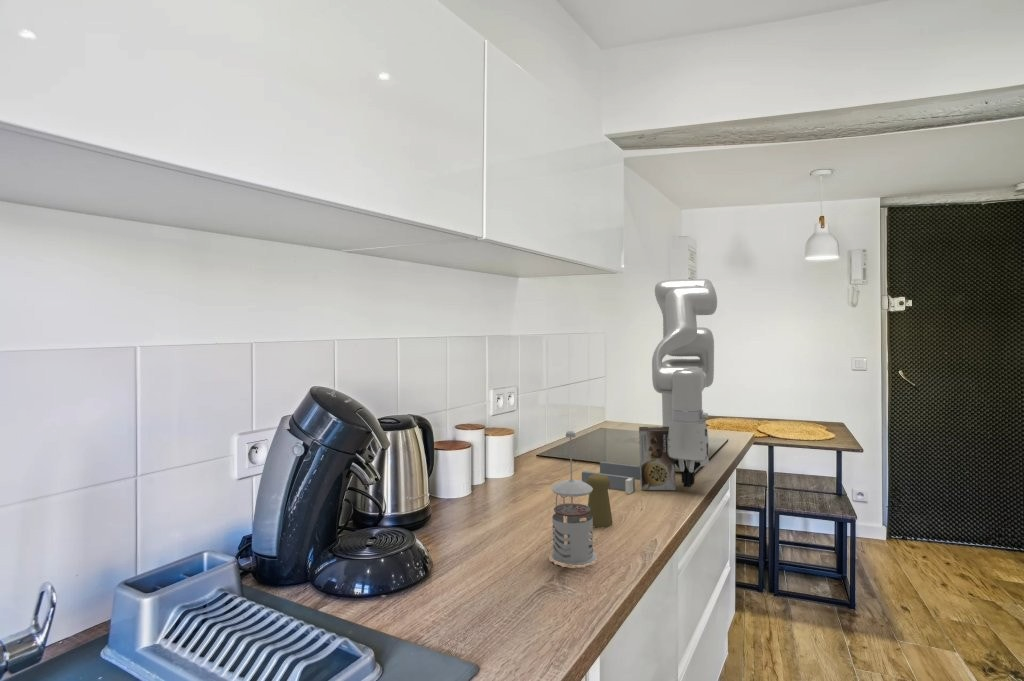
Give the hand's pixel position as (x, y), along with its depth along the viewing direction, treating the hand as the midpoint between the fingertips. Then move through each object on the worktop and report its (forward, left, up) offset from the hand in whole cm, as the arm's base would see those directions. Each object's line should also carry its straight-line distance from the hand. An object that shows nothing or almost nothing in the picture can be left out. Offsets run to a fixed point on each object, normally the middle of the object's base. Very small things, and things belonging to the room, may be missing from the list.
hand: (688, 485), depth 159 cm
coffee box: (0, -8, -2) cm, 9 cm away
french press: (+53, -8, -2) cm, 53 cm away
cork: (+33, -11, -2) cm, 34 cm away
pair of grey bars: (0, -20, -2) cm, 20 cm away
